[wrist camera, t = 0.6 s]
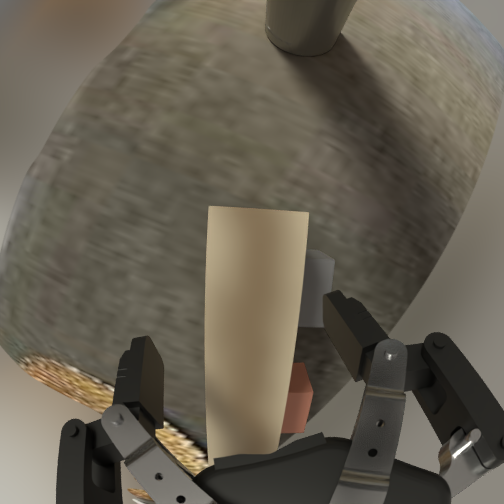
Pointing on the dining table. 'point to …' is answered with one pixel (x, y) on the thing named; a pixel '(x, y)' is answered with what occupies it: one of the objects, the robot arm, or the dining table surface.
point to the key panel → (250, 324)
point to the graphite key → (315, 287)
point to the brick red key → (297, 400)
